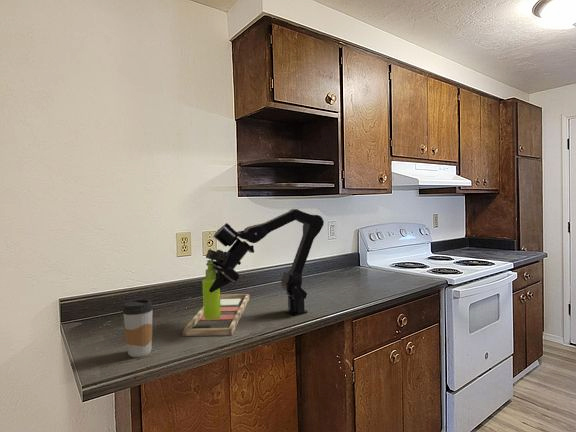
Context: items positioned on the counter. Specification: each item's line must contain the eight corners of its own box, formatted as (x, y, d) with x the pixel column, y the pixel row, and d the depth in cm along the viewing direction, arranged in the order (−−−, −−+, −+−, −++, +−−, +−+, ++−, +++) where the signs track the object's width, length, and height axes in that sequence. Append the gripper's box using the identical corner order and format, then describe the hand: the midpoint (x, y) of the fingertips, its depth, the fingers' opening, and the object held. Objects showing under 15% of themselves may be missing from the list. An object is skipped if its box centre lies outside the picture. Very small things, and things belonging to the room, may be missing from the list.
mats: (234, 319, 133) (234, 319, 133) (200, 320, 133) (200, 319, 133) (240, 307, 148) (240, 307, 148) (210, 308, 148) (210, 307, 148)
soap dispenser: (203, 321, 122) (201, 262, 121) (203, 314, 129) (201, 259, 127) (221, 319, 123) (218, 261, 122) (220, 313, 130) (218, 258, 129)
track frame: (231, 335, 118) (231, 329, 118) (182, 335, 118) (182, 330, 118) (249, 298, 162) (249, 293, 161) (213, 299, 162) (213, 294, 162)
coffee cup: (145, 344, 111) (143, 297, 111) (160, 351, 106) (158, 301, 105) (119, 354, 105) (116, 303, 104) (133, 361, 100) (130, 308, 99)
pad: (237, 305, 151) (237, 304, 151) (216, 305, 151) (216, 304, 151) (241, 299, 160) (241, 298, 160) (220, 299, 160) (220, 299, 160)
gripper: (210, 238, 135) (182, 271, 130) (229, 243, 119) (198, 281, 114) (230, 257, 139) (204, 289, 134) (251, 263, 123) (223, 301, 118)
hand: (206, 289), depth 125 cm, fingers closed on soap dispenser, 6 cm apart
